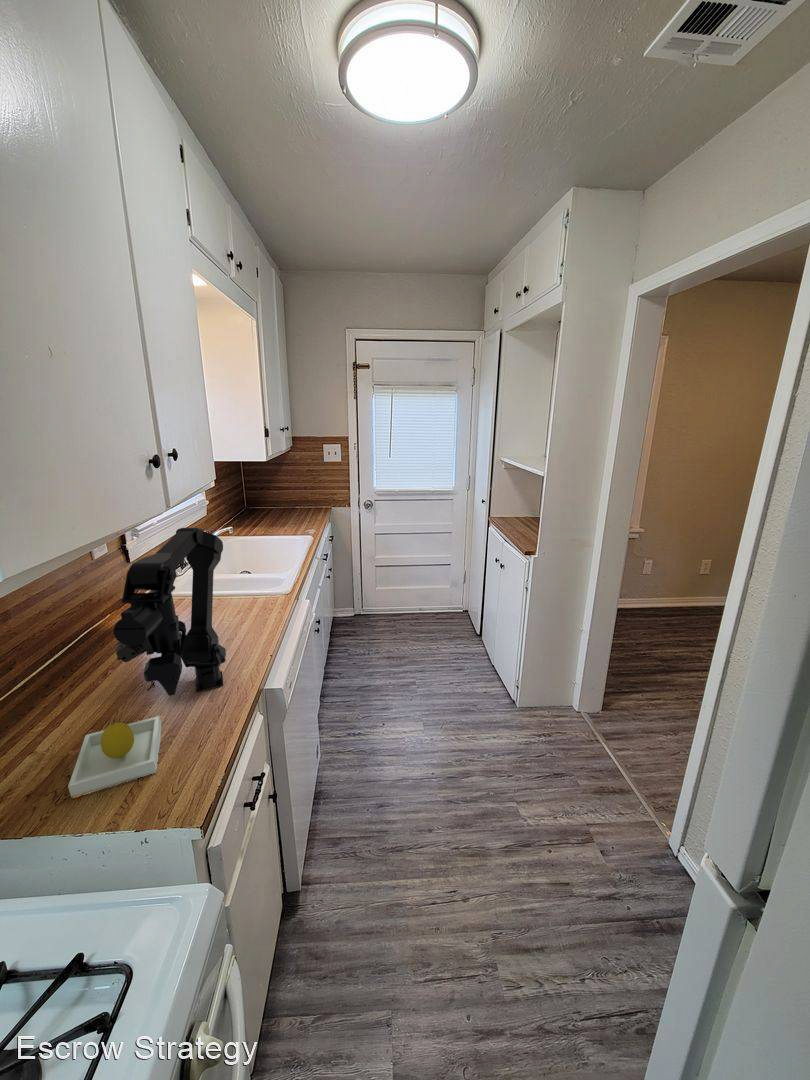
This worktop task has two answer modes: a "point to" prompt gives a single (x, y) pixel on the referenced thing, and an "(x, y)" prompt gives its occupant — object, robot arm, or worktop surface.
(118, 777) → the tray
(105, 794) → the worktop surface
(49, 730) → the worktop surface
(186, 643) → the robot arm
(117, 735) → the lemon
